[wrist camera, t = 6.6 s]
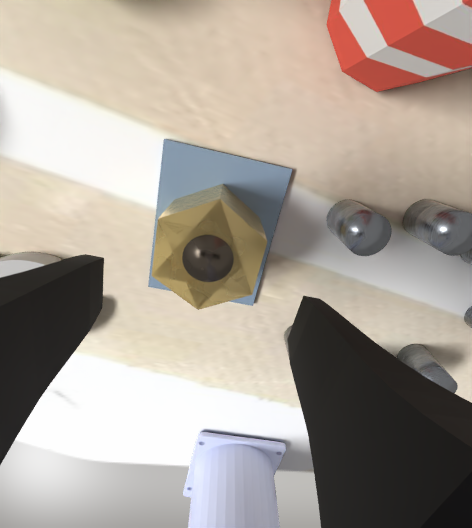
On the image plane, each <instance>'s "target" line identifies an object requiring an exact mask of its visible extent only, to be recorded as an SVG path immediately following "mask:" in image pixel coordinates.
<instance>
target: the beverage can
mask: <svg viewBox="0 0 472 528" xmlns="http://www.w3.org/2000/svg"><path fill="white" fill-rule="evenodd" d="M327 28H328V31H329V34H330V37H331V40H332V43H333V46H334V48H335V51H336V54H337V57H338V60H339V63H340V66H341V69H342V72H344V73H346V74H347V75H349V76H351V77H352V78H354V79H356V80H357V81H359V82H361V83H363V84H364V85H366V86H368V87H369V88H371V89H373V90H374V91H376V92H378V91H383V90H387V89H392V88H396V87H401V86H405V85H410V84H414V83H419V82H422V81H426V80H430V79H433V78H437V77H441V76H444V75H448V74H452V73H455V72H459V71H463V70H466V69H470V68H472V0H332V1H331V6H330V11H329V16H328V21H327Z"/></svg>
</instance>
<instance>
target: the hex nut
mask: <svg viewBox="0 0 472 528" xmlns="http://www.w3.org/2000/svg"><path fill="white" fill-rule="evenodd" d="M266 245H267V239H266V236H265V232H264V229H263V226H262V223H261V220H260V218H259V217H258V216H257V215H256V214H255V213H254V212H253V211H252V210H251V209H250V208H249V207H248V206H246V205H245V204H244V203H243V202H242V201H241V200H240V199H239V198H238V197H237V196H236V195H235V194H233V193H232V192H231V191H230V190H229V189H228V188H227V187H226V186H225V185H224V184H220V185H217V186H214V187H211V188H208V189H205V190H202V191H199V192H196V193H193V194H189V195H186V196H183V197H180V198H177V199H174V201H173V202H172V203H171V204H170V205H169V206H168V208H167V209H166V210H165V211H164V212H163V213H162V215H161V216H160V217H159V218H158V222H157V231H156V240H155V249H154V258H153V267H152V277H154V278H155V279H156V280H158V281H159V282H161V283H162V284H163V285H165V286H166V287H167V288H169V289H170V290H172V291H173V292H174V293H176V294H177V295H179V296H180V297H181V298H183V299H184V300H185V301H187V302H188V303H190V304H191V305H192V306H194V307H195V308H196V309H198V310H199V309H202V308H206V307H210V306H213V305H217V304H220V303H224V302H228V301H231V300H235V299H239V298H242V297H246V296H250V295H252V294H253V290H254V287H255V284H256V280H257V277H258V273H259V270H260V266H261V263H262V259H263V256H264V252H265V249H266Z"/></svg>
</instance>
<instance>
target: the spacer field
mask: <svg viewBox="0 0 472 528" xmlns="http://www.w3.org/2000/svg"><path fill="white" fill-rule="evenodd" d="M327 225H328V227H329V229H330V230H331V231H332V232H333V233H334V234H335V235H336V236H337V237H338V238H339V239H340V240H341V241H342V242H343V243H344V244H345V245H346V246H347V247H348V248H349V249H350V250H351V251H352V252H353V253H355V254H357V255H360V256H369V255H373V254H375V253H377V252H379V251H380V250H382V249H383V248H384V247H385V246H386V244H387V243H388V241H389V239H390V236H391V226H390V223H389V221H388V220H387V219H386V218H385V217H383V216H381V215H380V214H378V213H376V212H374V211H372V210H371V209H369V208H367V207H365V206H363V205H362V204H360V203H358V202H356V201H354V200H343V201H340V202H338V203H337V204H335V205H334V206H333V207H332V208H331V209H330V211H329V213H328V216H327ZM403 226H404V228H405V230H406V231H407V232H408V233H410V234H411V235H413V236H415V237H417V238H418V239H420V240H422V241H424V242H425V243H427V244H429V245H431V246H432V247H434V248H436V249H438V250H439V251H441V252H443V253H445V254H447V255H453V256H455V255H461V257H462V259H463V260H464V261H465V262H467V263H469V264H470V265H472V214H471V213H468V212H465V211H462V210H459V209H457V208H454V207H451V206H448V205H445V204H442V203H439V202H436V201H433V200H429V199H425V200H420V201H418V202H416V203H414V204H413V205H412V206H411V207H409V209H408V210H407V211H406V213H405V215H404V218H403ZM464 320H465V322H466V324H467V325H469V326H470V327H471V328H472V306H471V307H470V308H469V309H468V310H467V312H466V314H465V317H464ZM292 326H293V325H292ZM292 326H290V327H289V328H288V329H287V330H286V332H285V334H284V340H285V344H286V348H287V352H288V356H289V351H288V341H287V339H288V336H289V334H290V331H291V328H292ZM397 359H399V360H400V361H402V362H403V363H405V364H406V365H408V366H409V367H411V368H412V369H414V370H415V371H417V372H418V373H420V374H422V375H423V376H425V377H427V378H428V379H430V380H431V381H433V382H435V383H437V384H438V385H440V386H442V387H444V388H445V389H447V390H449V391H451V392H452V393H455V392H456V390H457V383H456V381H455V380H454V379H453V378H452V377H451V376H450V375H449V374H448V372H447V371H446V370H445V369H444V368H443V367H442V366H441V365H440V364H439V362H438V361H437V360H436V359H435V358H434V357H433V356H432V355H431V354H430V352H429V351H428V350H427V349H426V348H425V347H424V346H422V345H420V344H412V345H409V346H406V347H404V348H403V349H402V350H401V351H400V352H399V354H398V356H397Z"/></svg>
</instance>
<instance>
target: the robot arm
mask: <svg viewBox="0 0 472 528" xmlns="http://www.w3.org/2000/svg"><path fill="white" fill-rule="evenodd" d="M103 268H104V258H102V257H96V256H91V255H86V254H85V255H80V256H75V257H71V258H68V259H64V260H61V261H58V262H54V263H51V264H48V265H44V266H41V267H37V268H34V269H31V270H27V271H24V272H20V273H16V274H12V275H8V276H5V277H1V278H0V464H1V463H2V461H3V459H4V458H5V456H6V454H7V452H8V451H9V449H10V447H11V445H12V444H13V442H14V440H15V438H16V437H17V435H18V433H19V432H20V430H21V428H22V427H23V425H24V423H25V422H26V420H27V418H28V417H29V415H30V413H31V412H32V410H33V409H34V407H35V405H36V404H37V402H38V400H39V399H40V397H41V396H42V394H43V393H44V392H45V390H46V389H47V387H48V386H49V384H50V383H51V382H52V380H53V379H54V378H55V376H56V375H57V374H58V372H59V371H60V370H61V368H62V367H63V366H64V365H65V363H66V362H67V361H68V359H69V358H70V357H71V355H72V354H73V353H74V351H75V350H76V349H77V347H78V346H79V345H80V343H81V342H82V340H83V339H84V338H85V336H86V335H87V334H88V332H89V331H90V329H91V327H92V326H93V324H94V322H95V320H96V318H97V316H98V315H99V313H100V311H101V309H102V299H103ZM287 341H288V351H289V359H290V365H291V369H292V373H293V377H294V381H295V385H296V389H297V392H298V396H299V400H300V404H301V407H302V411H303V415H304V419H305V422H306V427H307V431H308V436H309V442H310V448H311V454H312V460H313V467H314V474H315V481H316V488H317V495H318V503H319V511H320V520H321V528H472V403H471V402H469V401H467V400H465V399H463V398H461V397H460V396H458V395H456V394H454V393H452V392H451V391H449V390H447V389H445V388H444V387H442V386H440V385H438V384H437V383H435V382H433V381H431V380H430V379H428V378H427V377H425V376H423V375H422V374H420V373H418V372H417V371H415V370H414V369H412V368H411V367H409V366H408V365H406V364H405V363H403V362H402V361H400V360H399V359H397V358H396V357H394V356H393V355H391V354H390V353H389V352H387V351H386V350H385V349H383V348H382V347H380V346H379V345H378V344H376V343H375V342H374V341H372V340H371V339H370V338H369V337H367V336H366V335H365V334H364V333H362V332H361V331H360V330H359V329H357V328H356V327H355V326H354V325H352V324H351V323H350V322H349V321H348V320H346V319H345V318H344V317H343V316H341V315H340V314H339V313H338V312H337V311H335V310H334V309H333V308H332V307H330V306H329V305H328V304H326V303H325V302H324V301H322V300H320V299H318V298H312V297H307V296H303V299H302V301H301V304H300V307H299V309H298V312H297V315H296V318H295V320H294V323H293V326H292V328H291V331H290V334H289V336H288V339H287ZM285 451H286V445H285V444H284V443H282V442H276V441H268V440H261V439H253V438H246V437H238V436H231V435H223V434H215V433H208V432H200V433H199V434H198V435H197V439H196V443H195V447H194V451H193V455H192V459H191V463H190V467H189V471H188V475H187V479H186V483H185V486H184V491H183V495H184V496H185V497H191V505H190V514H189V524H188V528H280V525H279V516H278V508H277V500H276V491H275V484H274V474H275V472H276V470H277V468H278V466H279V464H280V462H281V459H282V457H283V455H284V453H285Z"/></svg>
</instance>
